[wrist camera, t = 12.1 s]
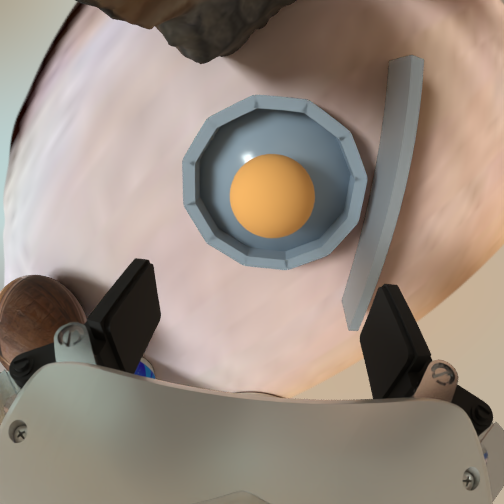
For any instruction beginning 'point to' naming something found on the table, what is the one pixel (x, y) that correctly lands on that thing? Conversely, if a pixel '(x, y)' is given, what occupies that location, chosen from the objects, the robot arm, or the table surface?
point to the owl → (196, 21)
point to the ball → (272, 196)
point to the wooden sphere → (34, 314)
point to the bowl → (283, 143)
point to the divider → (386, 184)
